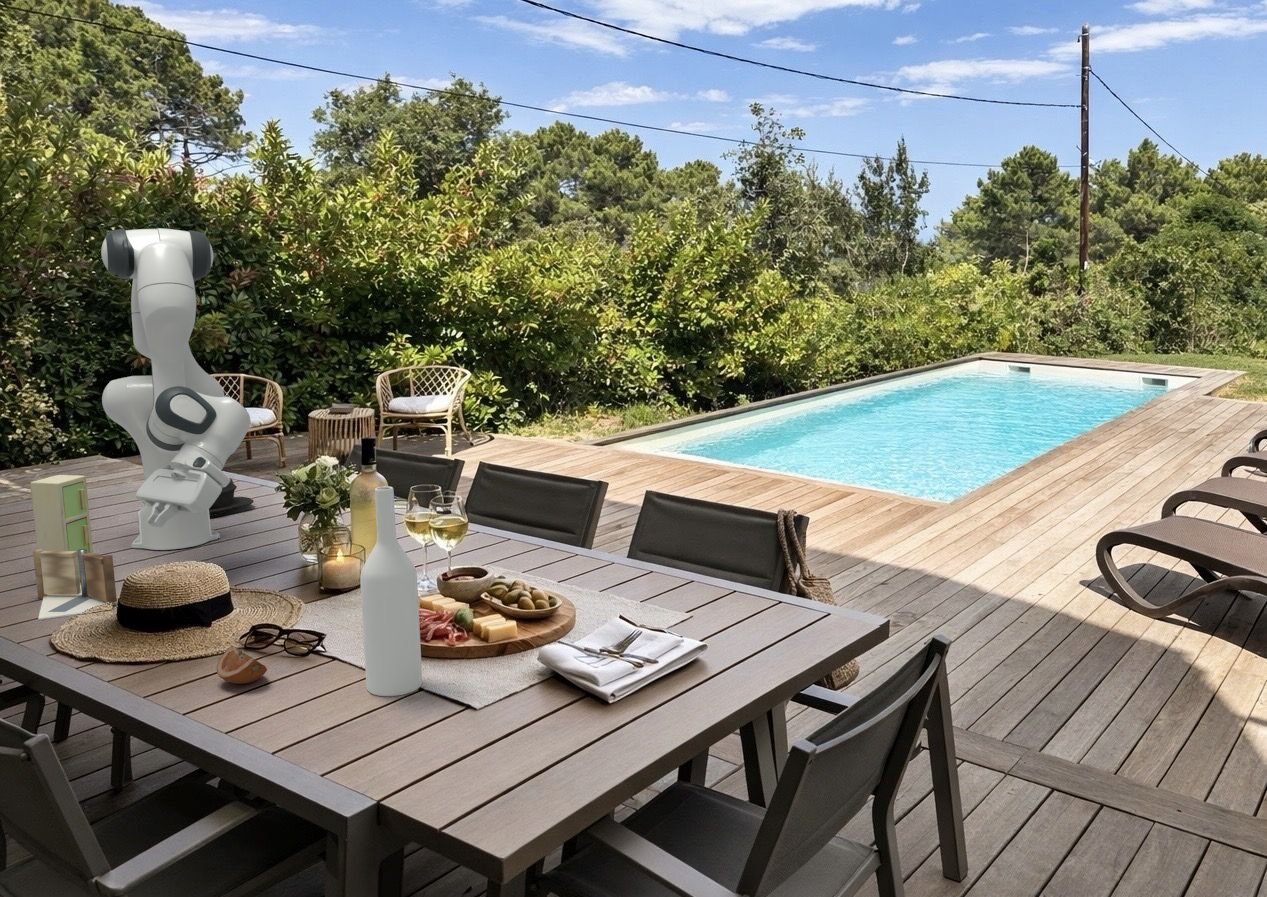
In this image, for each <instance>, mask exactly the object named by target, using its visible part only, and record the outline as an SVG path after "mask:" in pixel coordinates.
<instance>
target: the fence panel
mask: <svg viewBox="0 0 1267 897" xmlns="http://www.w3.org/2000/svg"><path fill="white" fill-rule="evenodd" d="M82 560H84V564H85V574H86V584H87V594H88V596H90V597H93V598H97V599H100V600H104V601H107V602H109V603H111V602H113V603H116V602H117V601H118V598H117V590H116V580H115V579H116V578H115V568H114V558H113V555H112V554H107V555H103V554H100V553H95V552H93V553H92V552H91V553H86V554H82Z"/></svg>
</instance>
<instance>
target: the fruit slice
mask: <svg viewBox="0 0 1267 897" xmlns="http://www.w3.org/2000/svg"><path fill="white" fill-rule="evenodd" d="M216 665H217V666H216V674H217V675H218V677H220V678H221V679H222V680H224V681H225V682H228V683H230V684H231V683H232V684H239V685H243V684H244V685H245V684H250V683H253V682H255V681H256V680H259V679H260V678H261V677H263V676H264V675H265V674H266V673H267V671H268V668H267V667H266V665H264V664H263V663H261V662H259V661H258V660H257V659H255V658H253V657H252V656H250V655H249V654H247V653H244V652H243V650H241V649H239V648H238V647H236V646H234V645H232V644H231V645H230V646H229V647H228V648H227V650H226V651H224V653H223V654H222V655H221V656H220V659H219V661H218V662H217V664H216Z"/></svg>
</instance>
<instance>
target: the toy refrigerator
mask: <svg viewBox="0 0 1267 897" xmlns="http://www.w3.org/2000/svg"><path fill="white" fill-rule="evenodd" d="M29 487H30V495H31V504H32V514H33V521H34V523H33V524H34V531H35V532H34V533H35V538H36V539H35V541H36V549H42V551H77V550H79V549H87V553H91V552H92V553H94V547H93V546H94V545H93V538H92V530H91V529H92V528H91V517H90V506H89V497H88V496H89V494H88V485H87V477H86V476H85V475H77V474H75V475H72V474H57V475H52V476H48V477H45V478H44V477H43V478H42V479H38V480H34V481H31V482H30V484H29ZM77 559H78V556H77ZM78 569H79V561H78ZM79 579H80V571H79Z"/></svg>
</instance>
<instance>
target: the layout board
mask: <svg viewBox="0 0 1267 897" xmlns="http://www.w3.org/2000/svg"><path fill="white" fill-rule="evenodd" d="M80 588H81V583H80ZM106 602H107V601H104V600H100V599H97V598H93V597H82V590H81V593H80V594H78V595H61V594H47V596H45V597H43V598H42V602H41V604H40V610H39V613H38V618H37V620H38V621H42V620H49V619H58V618H64V617H73V616H78V615H77V614H79V613H82V612H84V611H85V610H87V609H90V608H92V607H94V606H96V605H100V604H103V603H106Z"/></svg>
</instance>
